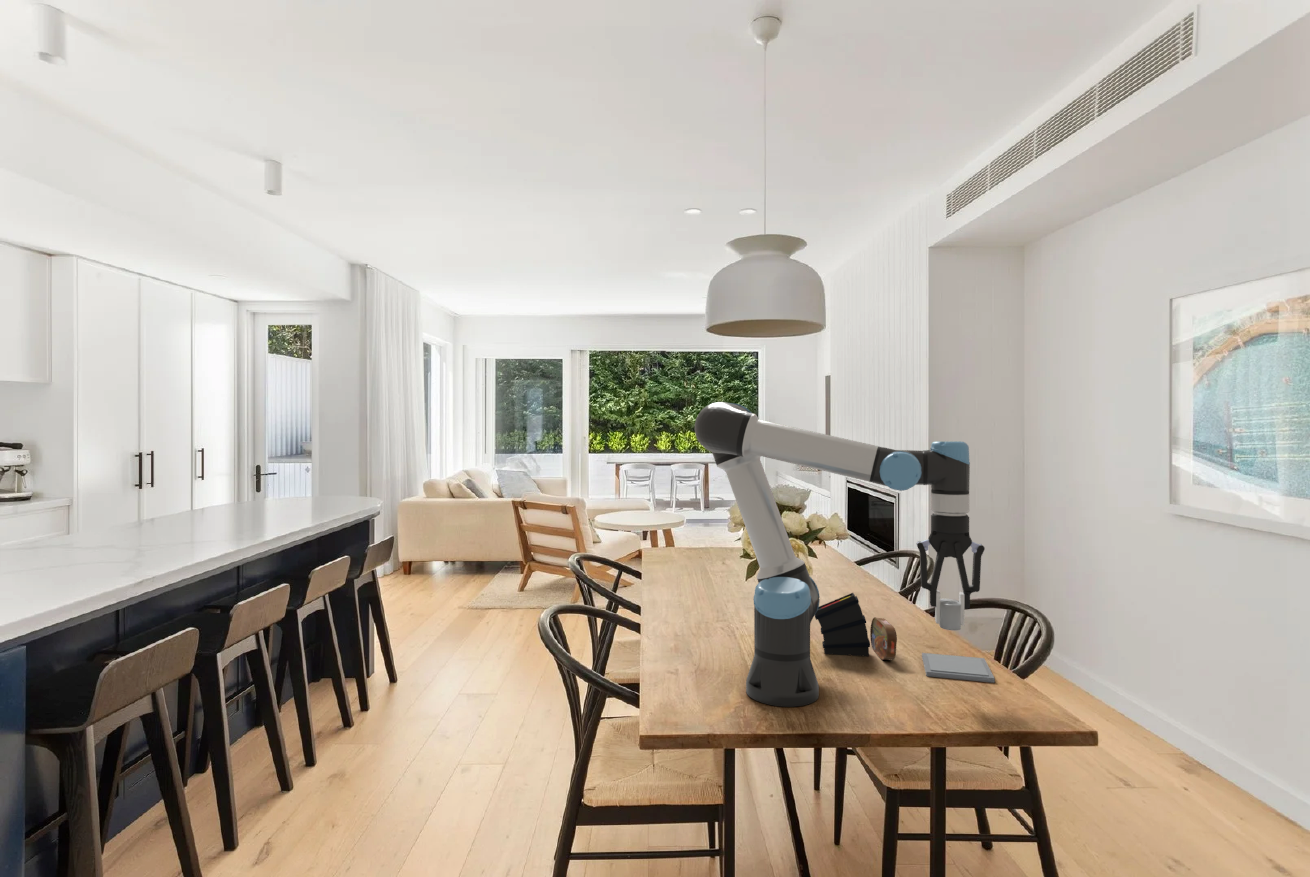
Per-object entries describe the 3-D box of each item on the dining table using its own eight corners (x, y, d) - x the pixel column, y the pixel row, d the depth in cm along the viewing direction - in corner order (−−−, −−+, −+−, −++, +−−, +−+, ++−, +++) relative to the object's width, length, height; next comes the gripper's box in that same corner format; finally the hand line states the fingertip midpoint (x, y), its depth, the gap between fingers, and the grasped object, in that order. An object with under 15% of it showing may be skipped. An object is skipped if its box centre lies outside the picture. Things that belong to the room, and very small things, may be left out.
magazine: (883, 651, 167) (855, 595, 168) (832, 671, 169) (806, 615, 171) (881, 646, 171) (854, 591, 172) (832, 666, 173) (806, 611, 174)
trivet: (926, 676, 155) (926, 670, 155) (921, 656, 168) (921, 651, 168) (994, 682, 150) (994, 677, 150) (984, 662, 164) (984, 657, 164)
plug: (941, 629, 143) (941, 605, 143) (936, 617, 152) (937, 595, 152) (961, 631, 142) (961, 607, 142) (956, 619, 151) (956, 596, 151)
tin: (869, 645, 177) (869, 613, 177) (881, 645, 177) (881, 613, 177) (885, 665, 162) (885, 629, 162) (898, 665, 162) (898, 629, 162)
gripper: (991, 512, 147) (990, 621, 147) (906, 510, 152) (906, 615, 152) (997, 516, 139) (996, 631, 140) (908, 514, 145) (907, 624, 145)
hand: (949, 622), depth 146 cm, fingers closed on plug, 4 cm apart
